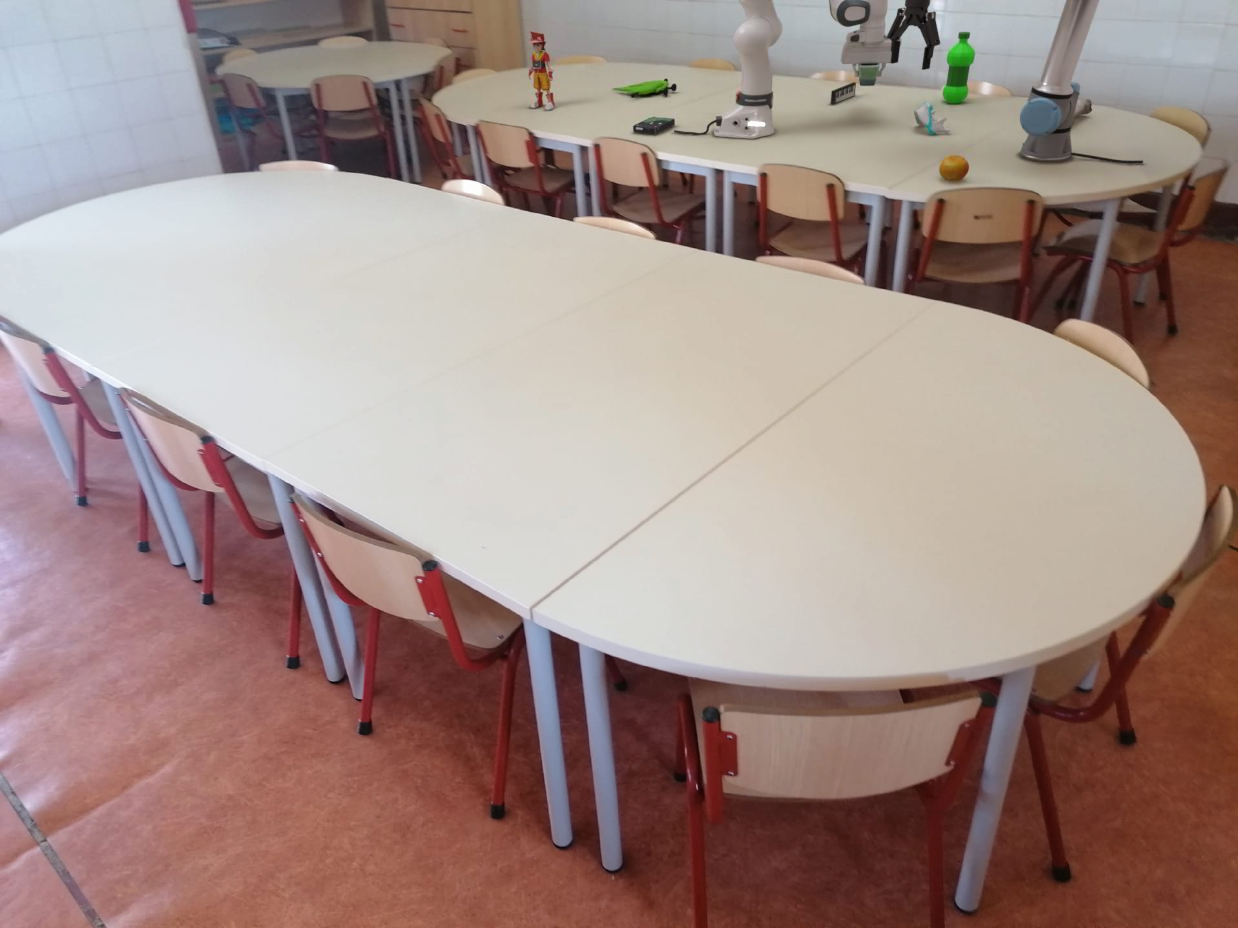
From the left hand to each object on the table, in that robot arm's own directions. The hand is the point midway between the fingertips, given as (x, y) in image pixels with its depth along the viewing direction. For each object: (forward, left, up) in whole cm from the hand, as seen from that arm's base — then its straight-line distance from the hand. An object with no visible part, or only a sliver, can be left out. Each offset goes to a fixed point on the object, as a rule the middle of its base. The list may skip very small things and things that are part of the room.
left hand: (867, 76), depth 326 cm
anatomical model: (+23, -8, -17) cm, 30 cm away
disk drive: (-78, -11, -17) cm, 80 cm away
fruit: (+28, -65, -17) cm, 73 cm away
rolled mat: (+69, +2, -17) cm, 71 cm away
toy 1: (-133, +22, -17) cm, 136 cm away
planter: (0, +10, -3) cm, 10 cm away
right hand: (+13, -34, +10) cm, 38 cm away
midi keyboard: (-9, +37, -17) cm, 41 cm away
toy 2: (-97, +50, -17) cm, 110 cm away
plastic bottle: (+34, +34, -17) cm, 51 cm away
